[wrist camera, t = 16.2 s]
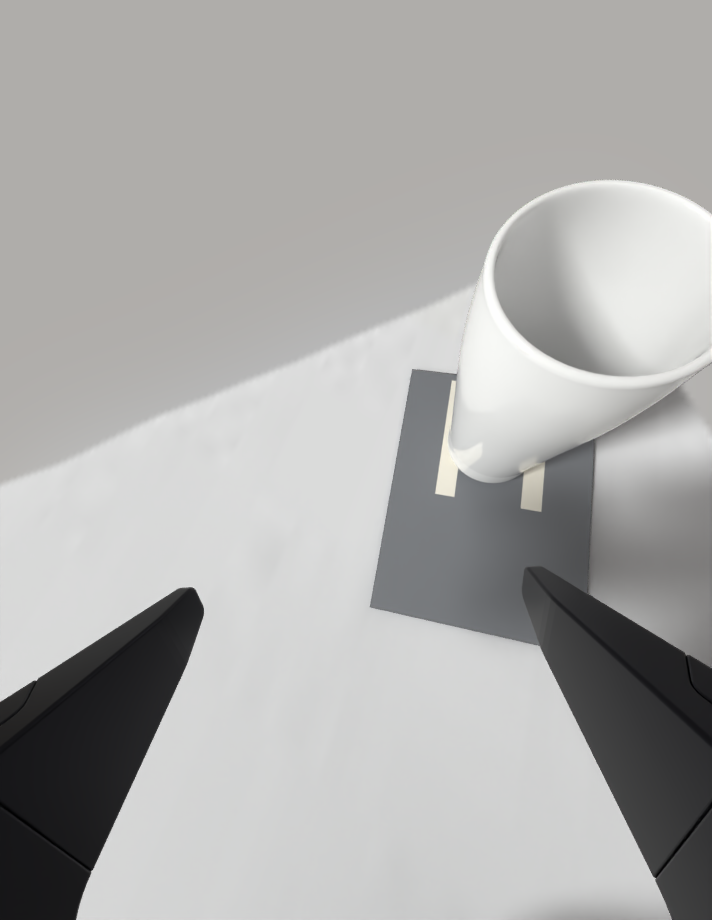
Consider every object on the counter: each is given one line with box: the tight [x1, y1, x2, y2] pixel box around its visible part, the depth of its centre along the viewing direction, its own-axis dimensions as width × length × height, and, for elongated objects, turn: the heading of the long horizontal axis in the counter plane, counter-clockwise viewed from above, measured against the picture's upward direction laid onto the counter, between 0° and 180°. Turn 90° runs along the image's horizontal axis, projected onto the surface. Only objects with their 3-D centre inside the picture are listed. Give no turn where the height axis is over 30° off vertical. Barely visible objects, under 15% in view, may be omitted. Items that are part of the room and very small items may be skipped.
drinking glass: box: [447, 180, 712, 483], centre depth 17 cm, size 7×7×15 cm
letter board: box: [370, 369, 594, 646], centre depth 24 cm, size 16×12×1 cm
